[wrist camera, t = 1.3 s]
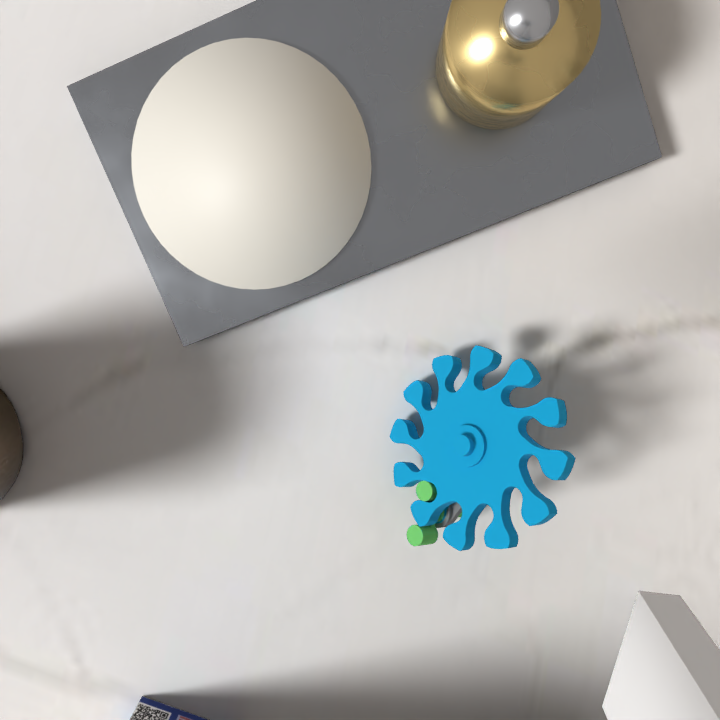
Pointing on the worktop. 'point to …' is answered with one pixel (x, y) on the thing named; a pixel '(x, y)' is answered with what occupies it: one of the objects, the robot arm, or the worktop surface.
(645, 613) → the robot arm
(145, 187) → the disc
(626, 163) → the carrier plate
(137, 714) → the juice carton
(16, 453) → the pillar candle
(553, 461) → the gear
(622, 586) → the worktop surface
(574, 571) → the worktop surface
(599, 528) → the worktop surface
